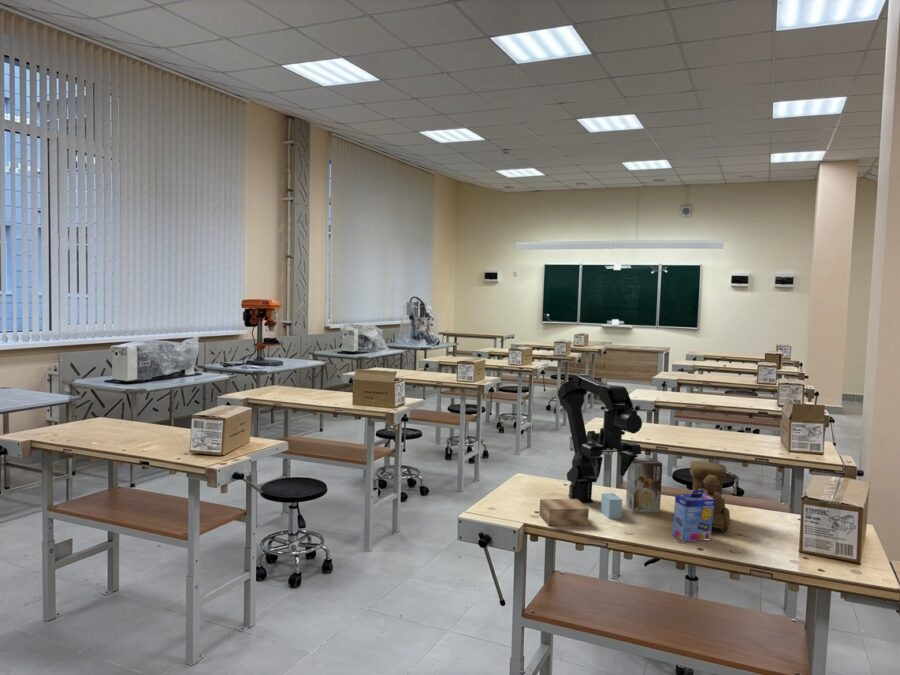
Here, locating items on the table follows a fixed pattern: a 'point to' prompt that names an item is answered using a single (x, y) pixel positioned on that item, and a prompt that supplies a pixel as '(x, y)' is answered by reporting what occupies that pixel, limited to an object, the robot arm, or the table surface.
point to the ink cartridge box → (693, 516)
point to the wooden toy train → (712, 488)
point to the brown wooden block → (563, 512)
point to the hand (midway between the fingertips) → (609, 476)
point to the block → (611, 505)
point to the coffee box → (644, 485)
